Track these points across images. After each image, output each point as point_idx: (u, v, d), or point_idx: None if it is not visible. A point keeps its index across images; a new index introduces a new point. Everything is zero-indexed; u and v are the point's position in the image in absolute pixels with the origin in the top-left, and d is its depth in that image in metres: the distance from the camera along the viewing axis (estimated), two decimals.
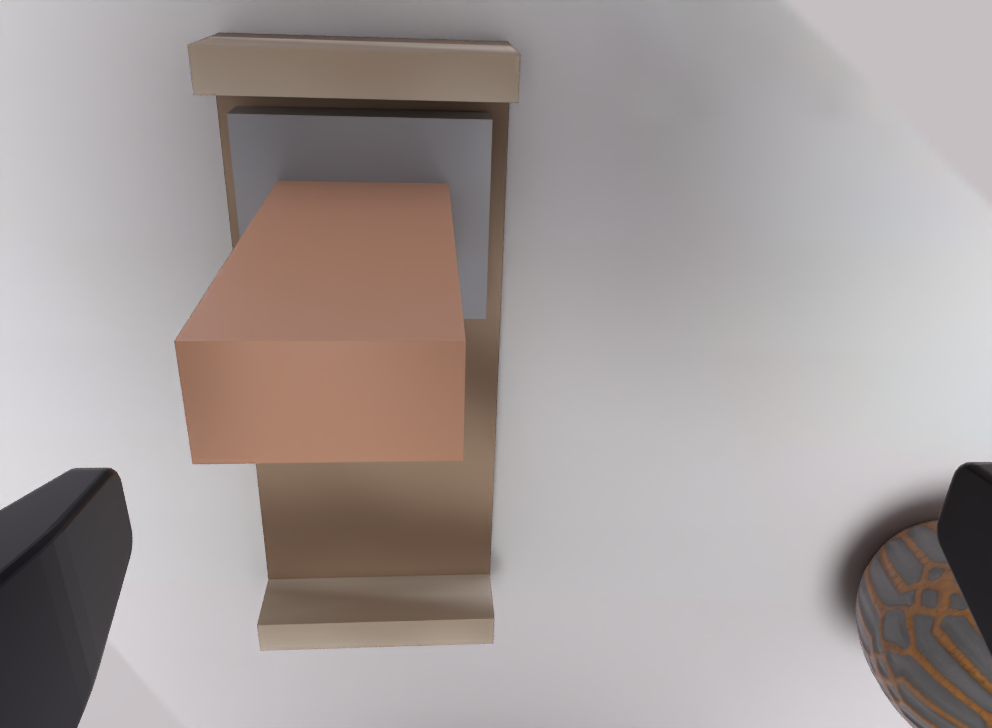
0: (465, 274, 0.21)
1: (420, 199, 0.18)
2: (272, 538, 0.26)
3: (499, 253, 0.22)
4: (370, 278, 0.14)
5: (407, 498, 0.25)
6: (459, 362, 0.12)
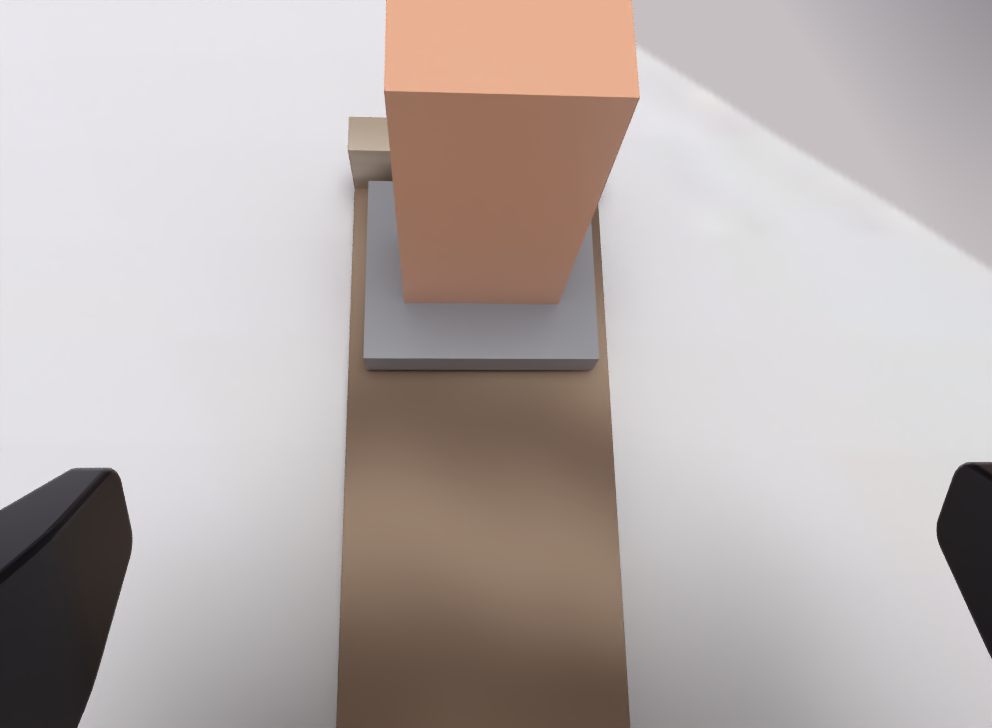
0: (575, 314, 0.22)
1: None
2: (347, 690, 0.20)
3: (602, 327, 0.23)
4: None
5: (519, 625, 0.20)
6: (627, 11, 0.14)
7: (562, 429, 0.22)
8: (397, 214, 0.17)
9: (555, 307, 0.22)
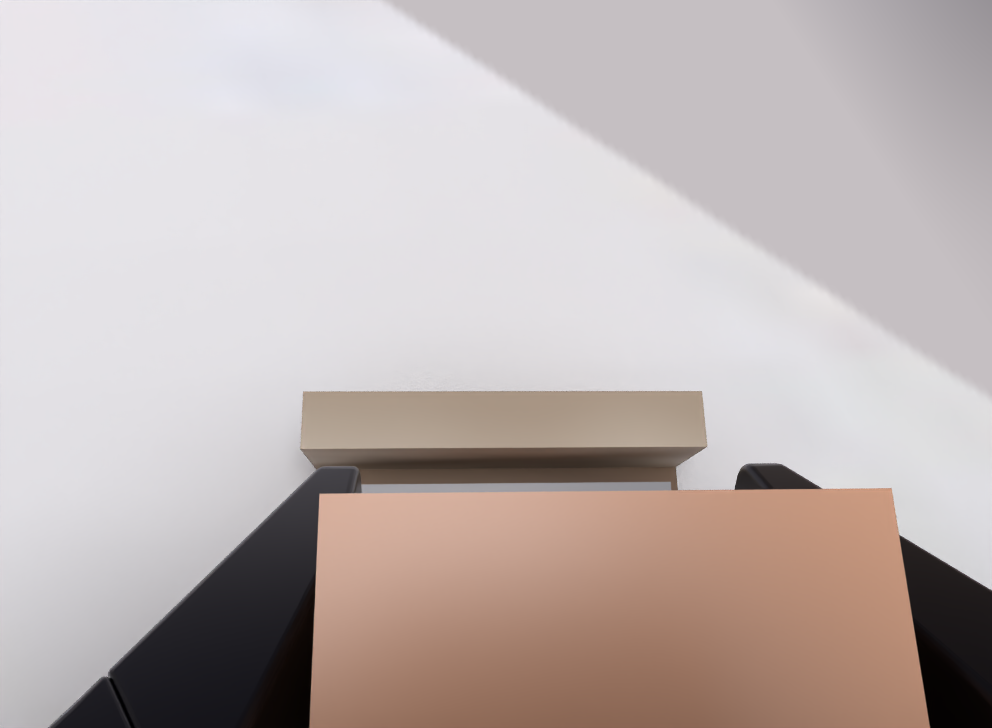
0: None
1: None
2: None
3: None
4: None
5: None
6: (886, 539, 0.06)
7: None
8: None
9: None
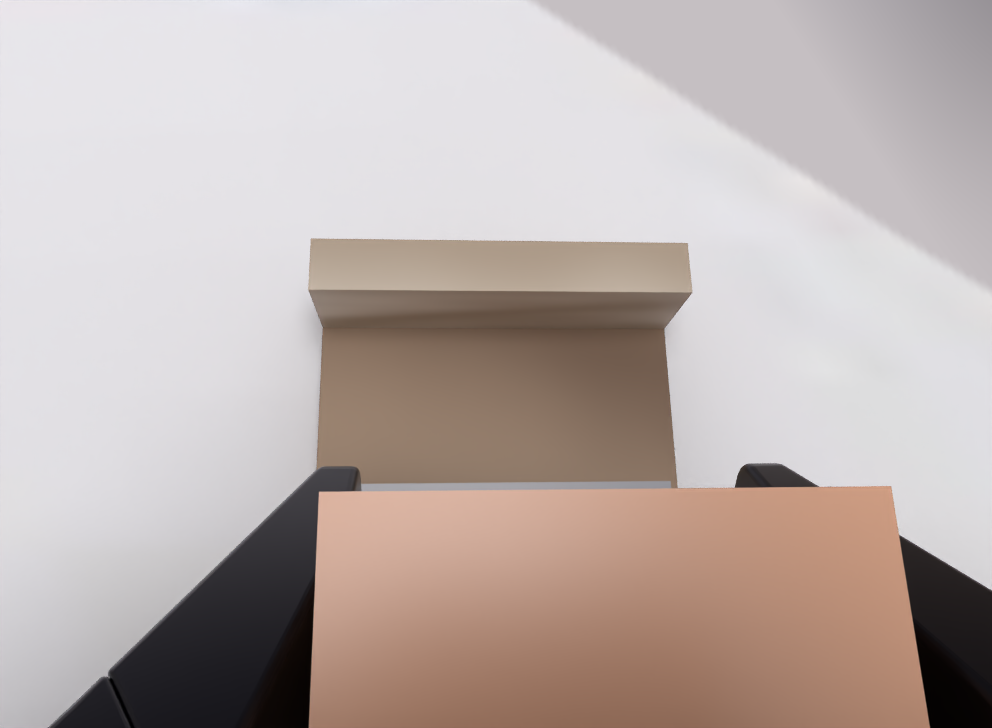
0: None
1: None
2: None
3: None
4: None
5: None
6: (885, 537, 0.06)
7: None
8: None
9: None
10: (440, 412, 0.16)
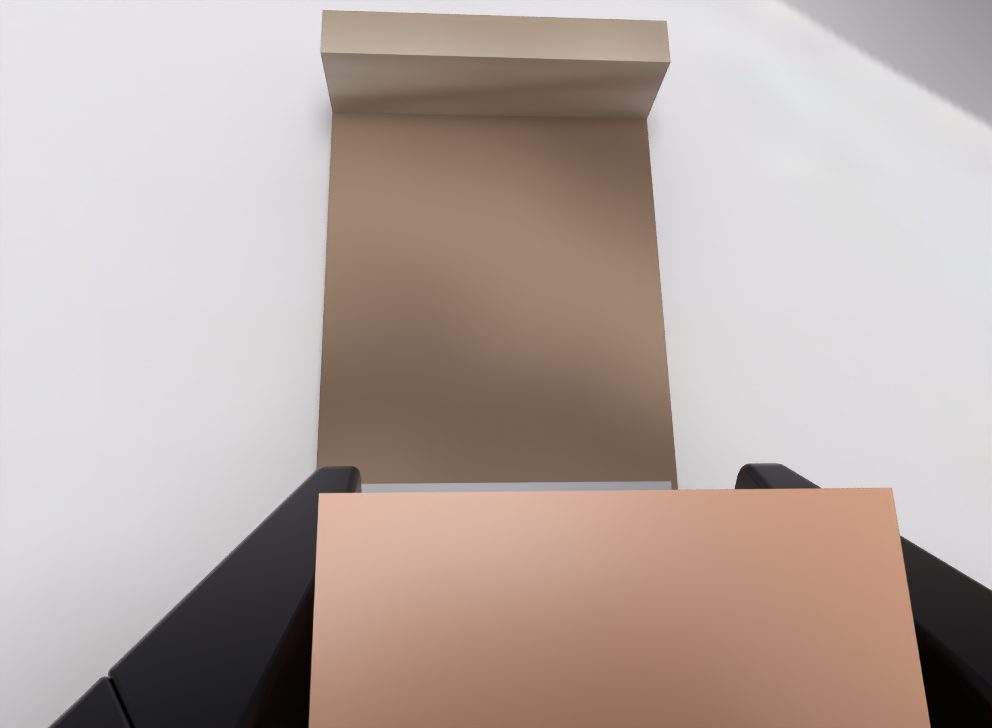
0: None
1: None
2: None
3: (657, 291, 0.17)
4: None
5: None
6: (886, 539, 0.06)
7: (607, 425, 0.17)
8: None
9: None
10: (440, 185, 0.18)
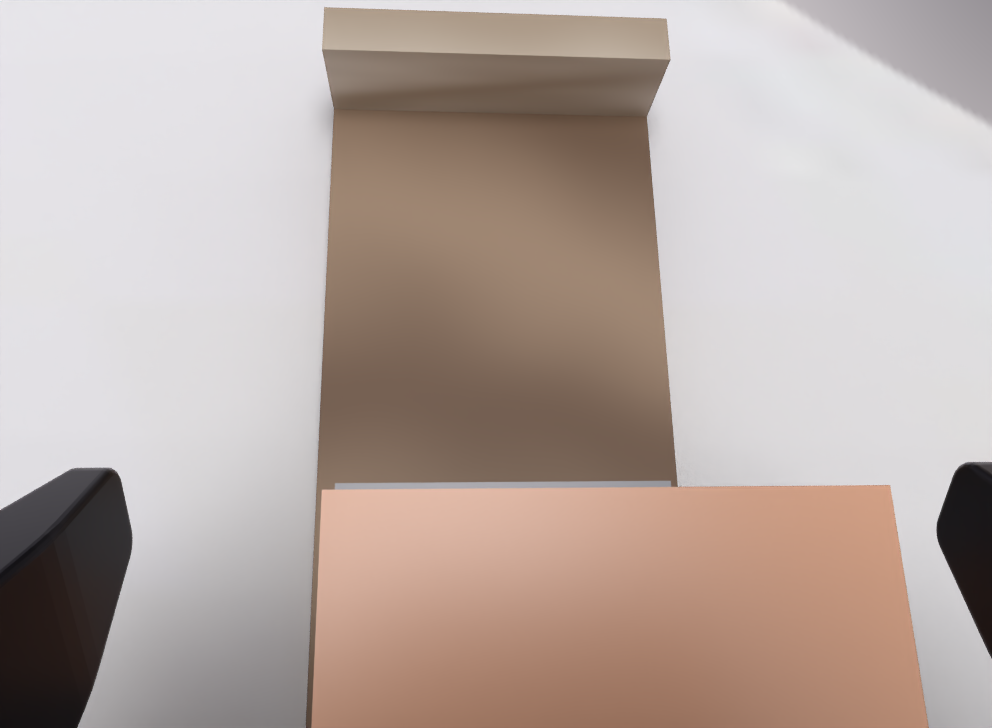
0: None
1: None
2: None
3: (656, 287, 0.18)
4: None
5: None
6: (884, 535, 0.06)
7: (606, 420, 0.17)
8: None
9: None
10: (441, 182, 0.18)
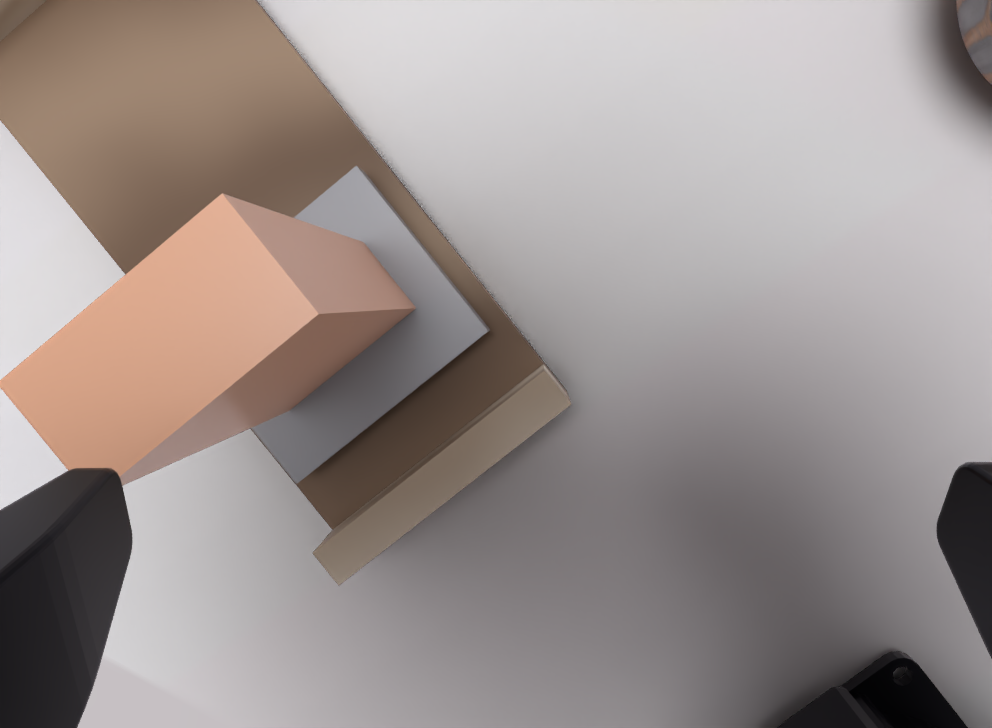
0: (438, 305, 0.20)
1: None
2: None
3: (272, 27, 0.21)
4: None
5: None
6: (235, 218, 0.11)
7: (306, 150, 0.21)
8: (211, 445, 0.15)
9: (416, 314, 0.20)
10: (76, 69, 0.21)
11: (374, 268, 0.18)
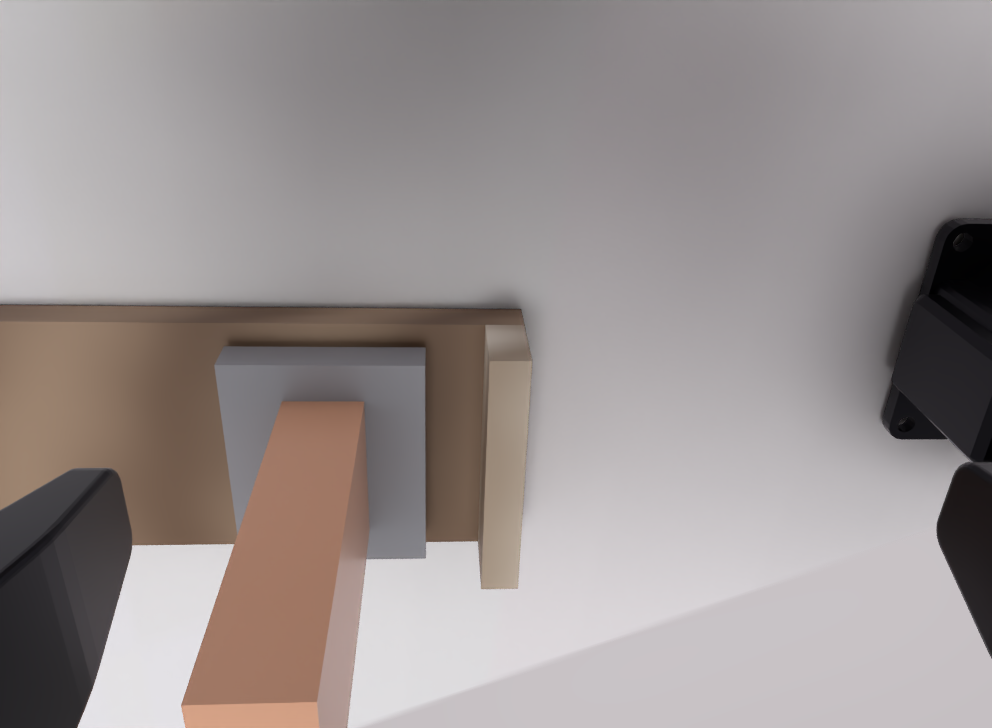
0: (375, 385, 0.20)
1: None
2: None
3: (46, 324, 0.20)
4: None
5: None
6: (206, 707, 0.12)
7: (173, 369, 0.21)
8: None
9: (369, 404, 0.21)
10: None
11: (309, 434, 0.19)
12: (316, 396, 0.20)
